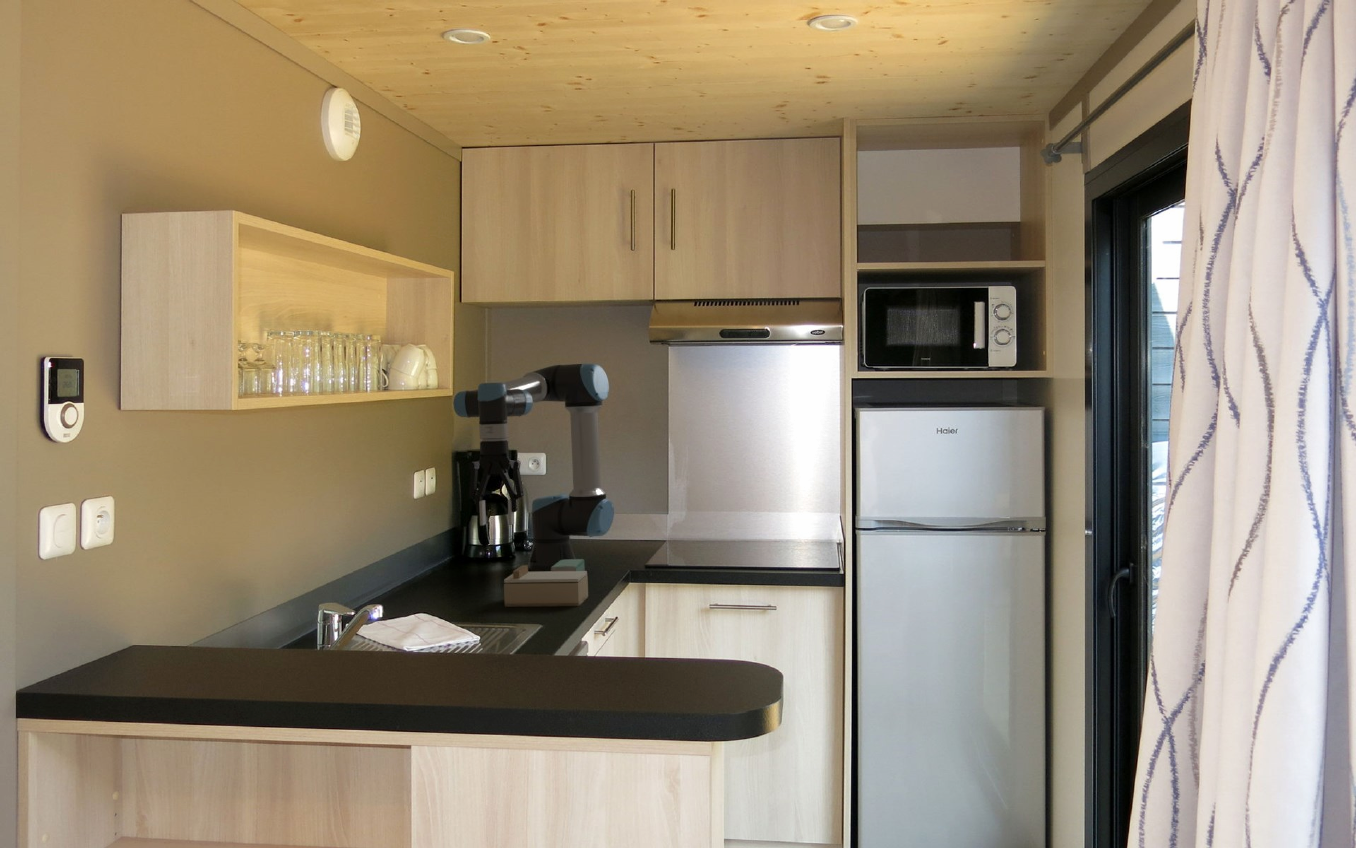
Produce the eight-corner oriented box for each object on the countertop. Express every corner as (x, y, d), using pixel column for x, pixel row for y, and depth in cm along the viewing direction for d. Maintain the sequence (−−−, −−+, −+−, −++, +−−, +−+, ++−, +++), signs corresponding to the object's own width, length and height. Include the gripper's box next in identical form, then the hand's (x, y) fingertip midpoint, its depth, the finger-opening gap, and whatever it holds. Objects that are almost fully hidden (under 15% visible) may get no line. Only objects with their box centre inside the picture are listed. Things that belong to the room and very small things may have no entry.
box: (585, 583, 299) (584, 557, 298) (577, 592, 285) (575, 566, 285) (561, 583, 299) (560, 558, 299) (551, 593, 286) (550, 567, 286)
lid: (515, 574, 280) (515, 564, 280) (587, 574, 278) (586, 563, 278) (504, 582, 269) (503, 572, 269) (578, 581, 267) (577, 571, 267)
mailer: (517, 597, 281) (516, 575, 281) (588, 596, 279) (587, 574, 278) (504, 606, 269) (503, 584, 269) (578, 606, 267) (578, 583, 267)
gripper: (453, 441, 271) (456, 527, 272) (526, 439, 269) (530, 525, 270) (462, 440, 279) (465, 523, 280) (533, 438, 276) (537, 522, 277)
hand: (497, 524), depth 275 cm, fingers open, 7 cm apart
